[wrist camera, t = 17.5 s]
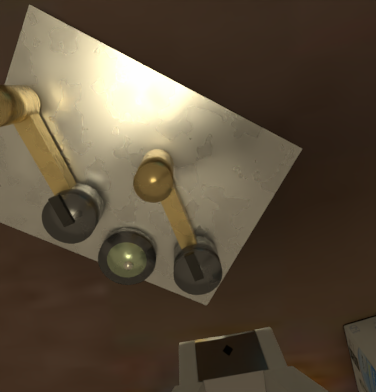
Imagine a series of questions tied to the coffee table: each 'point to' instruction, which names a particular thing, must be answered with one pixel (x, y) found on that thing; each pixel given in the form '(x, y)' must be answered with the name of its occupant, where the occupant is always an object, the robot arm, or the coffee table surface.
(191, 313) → the coffee table surface
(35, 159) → the knob
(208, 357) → the robot arm
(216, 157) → the plate
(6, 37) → the coffee table surface
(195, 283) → the knob
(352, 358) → the light bulb box
